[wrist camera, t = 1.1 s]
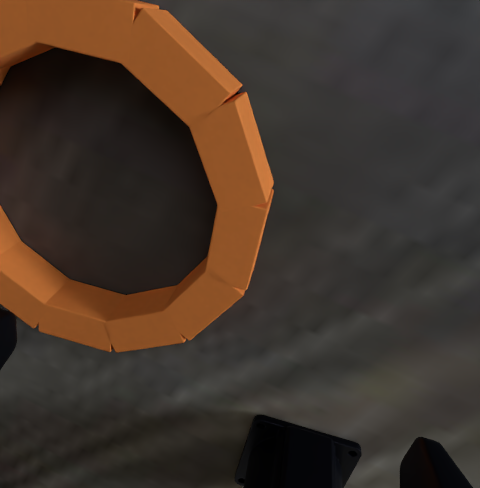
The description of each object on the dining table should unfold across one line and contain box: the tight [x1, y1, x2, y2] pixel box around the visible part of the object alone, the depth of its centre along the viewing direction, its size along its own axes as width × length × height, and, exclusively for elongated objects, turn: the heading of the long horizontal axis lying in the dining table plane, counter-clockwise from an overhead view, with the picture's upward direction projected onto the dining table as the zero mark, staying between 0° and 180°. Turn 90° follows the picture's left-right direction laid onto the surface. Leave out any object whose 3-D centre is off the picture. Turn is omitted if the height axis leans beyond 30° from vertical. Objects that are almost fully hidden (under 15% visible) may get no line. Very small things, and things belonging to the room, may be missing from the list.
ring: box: [0, 0, 274, 353], centre depth 19 cm, size 16×16×2 cm
